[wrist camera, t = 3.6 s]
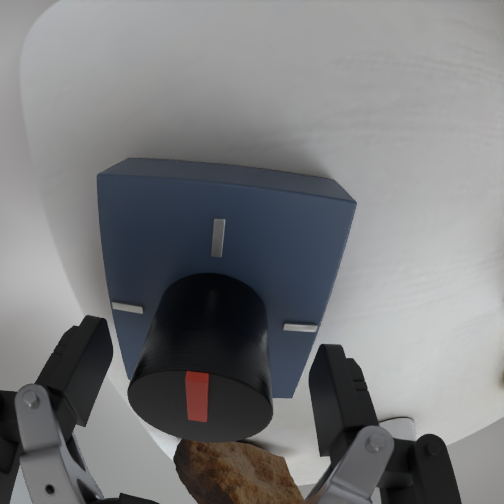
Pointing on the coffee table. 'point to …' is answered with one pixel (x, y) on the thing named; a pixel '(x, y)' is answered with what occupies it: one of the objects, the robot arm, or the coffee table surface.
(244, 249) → the control panel
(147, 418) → the program dial
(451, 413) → the coffee table surface
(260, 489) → the decorative rock
